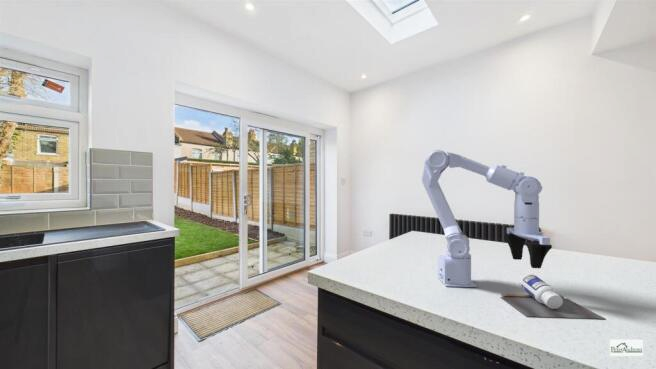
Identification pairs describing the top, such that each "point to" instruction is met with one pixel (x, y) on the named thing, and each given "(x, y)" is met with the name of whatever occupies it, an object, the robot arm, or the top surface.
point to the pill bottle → (541, 291)
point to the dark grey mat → (536, 309)
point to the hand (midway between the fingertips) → (526, 263)
